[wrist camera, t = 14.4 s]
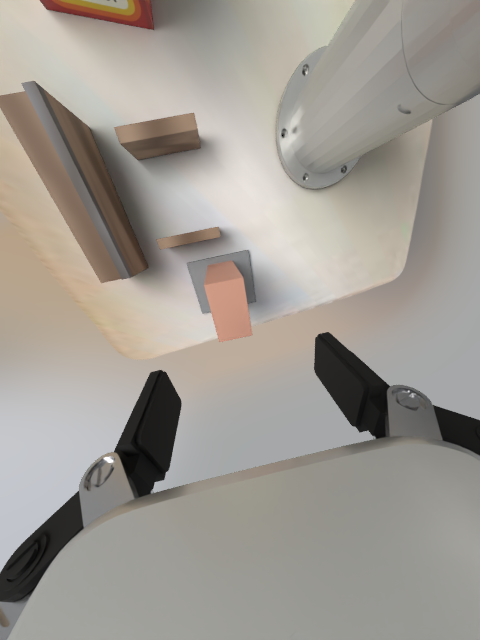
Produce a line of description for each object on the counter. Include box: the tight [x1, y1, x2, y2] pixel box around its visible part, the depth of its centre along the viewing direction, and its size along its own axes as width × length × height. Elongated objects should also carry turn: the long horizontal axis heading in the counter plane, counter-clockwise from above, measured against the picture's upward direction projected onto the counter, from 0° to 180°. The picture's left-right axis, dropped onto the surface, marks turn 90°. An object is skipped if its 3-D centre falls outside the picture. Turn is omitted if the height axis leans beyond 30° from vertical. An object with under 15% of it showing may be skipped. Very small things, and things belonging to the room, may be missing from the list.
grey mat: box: [187, 250, 256, 314], centre depth 30 cm, size 10×9×1 cm
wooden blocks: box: [0, 81, 220, 283], centre depth 21 cm, size 16×16×7 cm
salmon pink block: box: [204, 260, 252, 342], centre depth 24 cm, size 4×7×12 cm, turn 9°
